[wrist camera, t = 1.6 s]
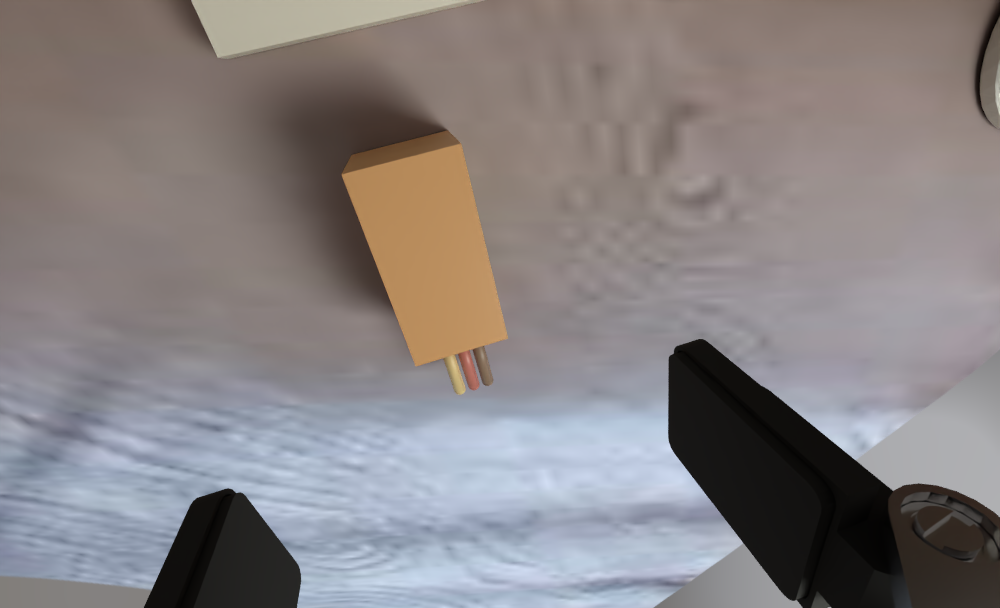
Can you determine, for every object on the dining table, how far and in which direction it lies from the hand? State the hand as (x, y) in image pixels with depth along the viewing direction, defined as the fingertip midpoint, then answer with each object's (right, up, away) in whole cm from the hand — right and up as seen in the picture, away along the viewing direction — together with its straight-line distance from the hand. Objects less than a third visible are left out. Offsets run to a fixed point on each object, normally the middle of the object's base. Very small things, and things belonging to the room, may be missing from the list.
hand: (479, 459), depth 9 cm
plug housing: (-3, +5, +16) cm, 17 cm away
